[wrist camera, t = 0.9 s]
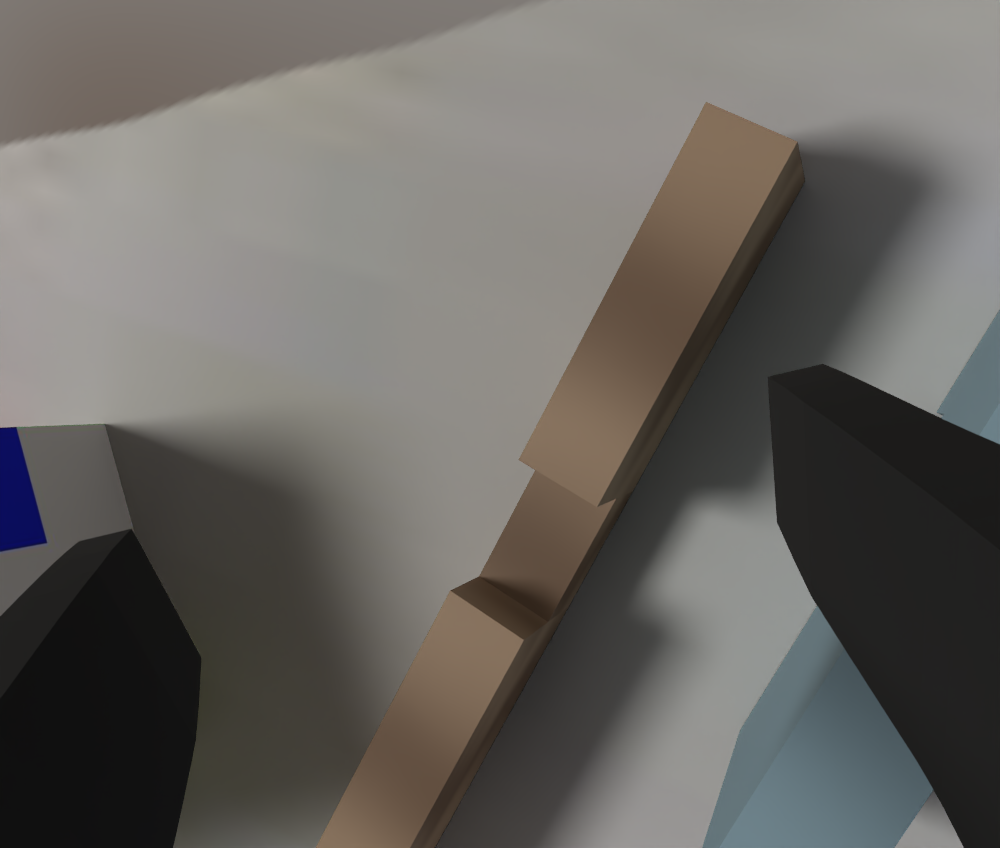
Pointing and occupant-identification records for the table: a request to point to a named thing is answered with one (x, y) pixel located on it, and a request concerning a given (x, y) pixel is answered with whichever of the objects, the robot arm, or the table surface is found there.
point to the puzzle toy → (53, 498)
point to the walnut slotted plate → (575, 477)
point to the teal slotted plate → (837, 716)
